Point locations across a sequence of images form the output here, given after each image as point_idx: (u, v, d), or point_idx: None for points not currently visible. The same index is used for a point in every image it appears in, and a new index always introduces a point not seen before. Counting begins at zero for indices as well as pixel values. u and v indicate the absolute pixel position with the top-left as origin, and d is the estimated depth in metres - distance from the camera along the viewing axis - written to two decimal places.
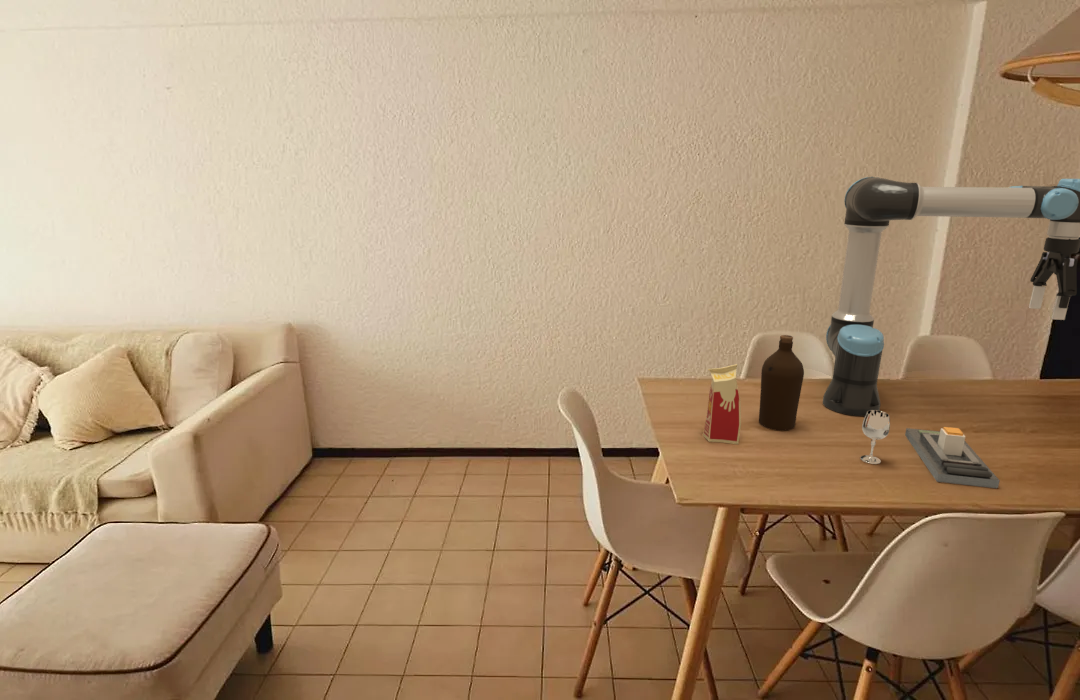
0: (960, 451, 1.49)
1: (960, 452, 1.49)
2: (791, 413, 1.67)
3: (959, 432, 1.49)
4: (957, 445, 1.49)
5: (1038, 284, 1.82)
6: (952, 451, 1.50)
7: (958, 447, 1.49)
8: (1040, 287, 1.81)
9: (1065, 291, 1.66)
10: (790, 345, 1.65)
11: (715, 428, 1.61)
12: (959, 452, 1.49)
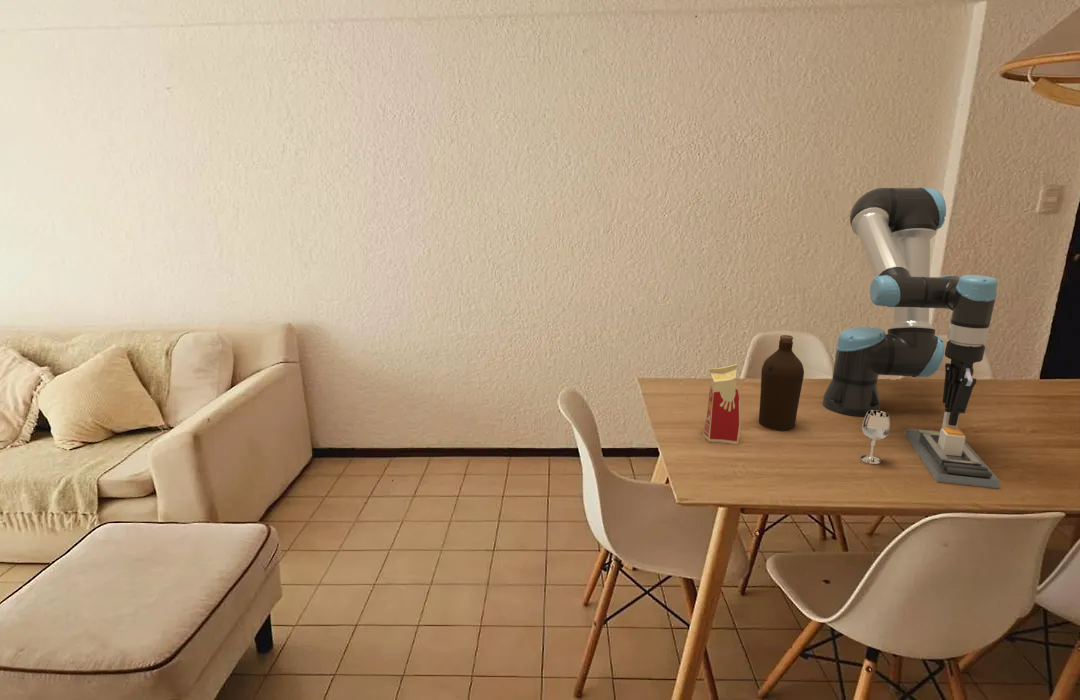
0: (960, 451, 1.49)
1: (960, 452, 1.49)
2: (791, 413, 1.67)
3: (959, 432, 1.49)
4: (957, 445, 1.49)
5: None
6: (953, 452, 1.50)
7: (958, 447, 1.49)
8: None
9: (953, 409, 1.48)
10: (790, 345, 1.65)
11: (715, 428, 1.61)
12: (959, 452, 1.49)
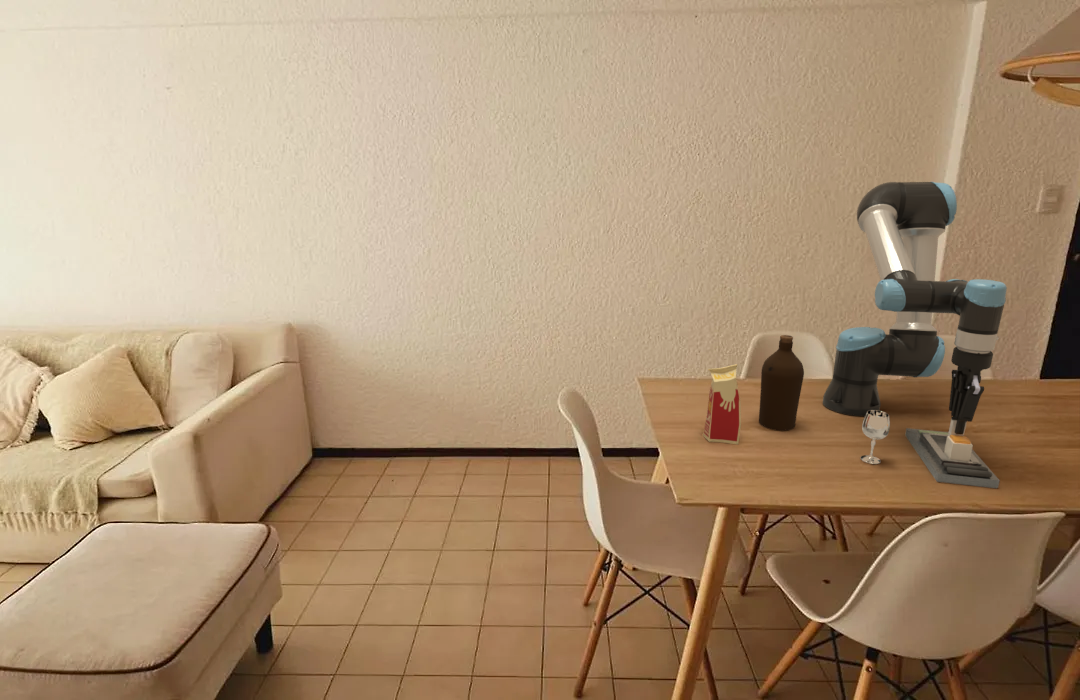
0: (967, 460, 1.45)
1: None
2: (791, 413, 1.67)
3: (966, 441, 1.44)
4: (965, 453, 1.45)
5: None
6: None
7: (965, 456, 1.45)
8: None
9: (960, 418, 1.44)
10: (790, 345, 1.65)
11: (715, 428, 1.61)
12: None
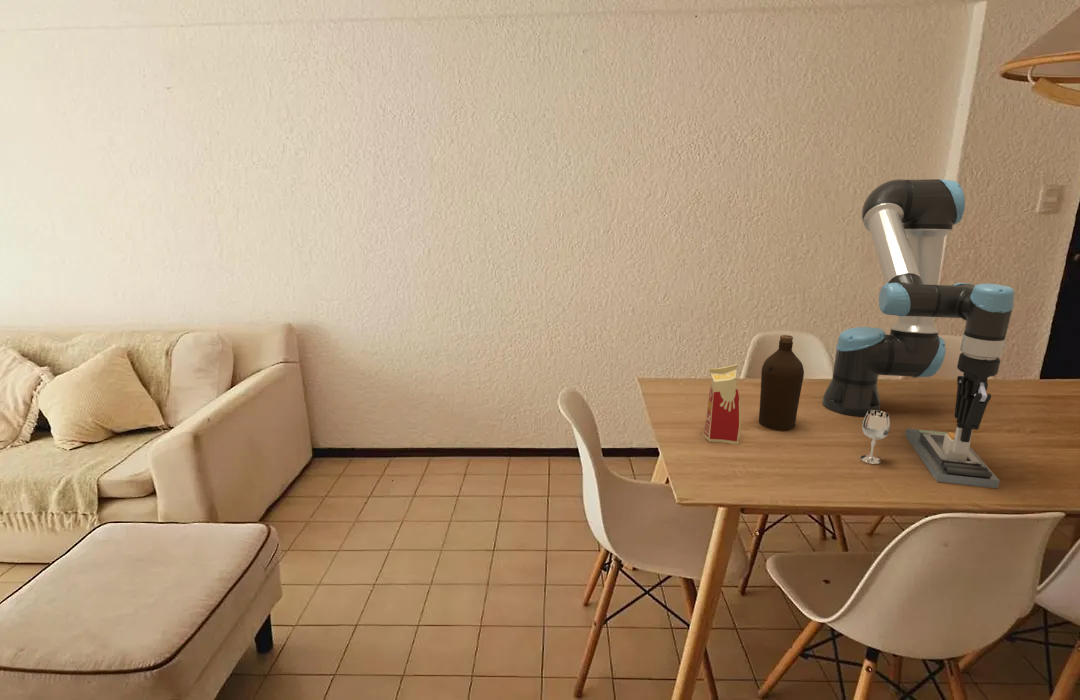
0: (965, 457, 1.46)
1: (965, 458, 1.46)
2: (791, 413, 1.67)
3: None
4: None
5: None
6: (957, 457, 1.47)
7: None
8: None
9: (966, 425, 1.40)
10: (790, 345, 1.65)
11: (715, 428, 1.61)
12: (964, 458, 1.46)
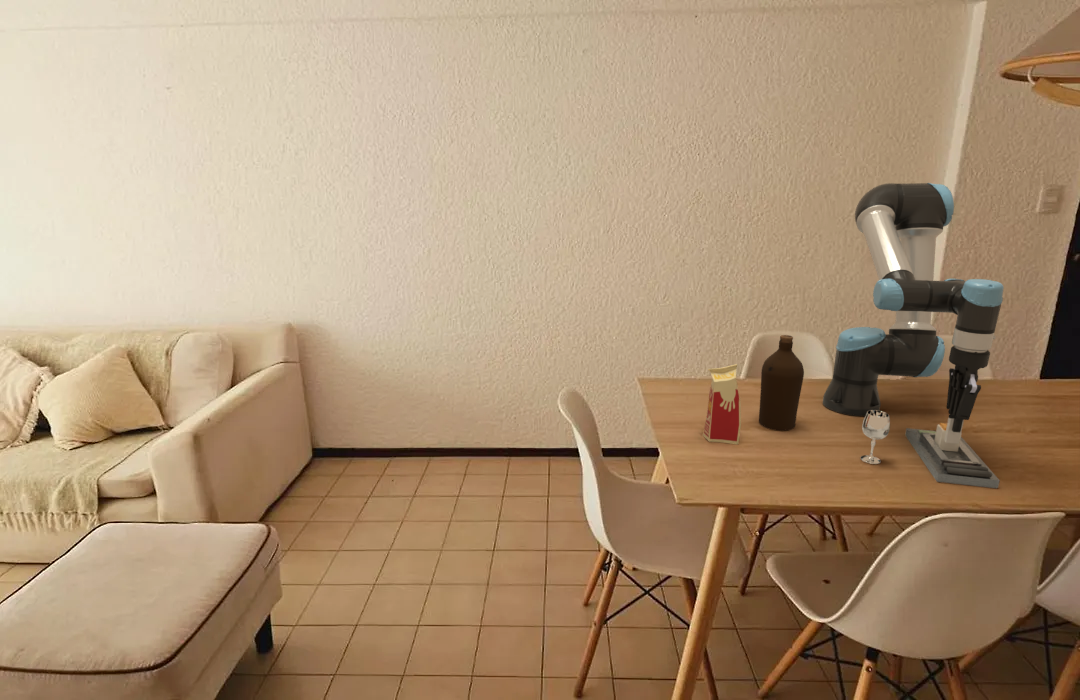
0: (956, 447, 1.51)
1: (956, 448, 1.51)
2: (791, 412, 1.67)
3: None
4: None
5: None
6: (949, 447, 1.52)
7: None
8: None
9: (957, 416, 1.46)
10: (790, 345, 1.65)
11: (715, 428, 1.61)
12: (955, 448, 1.52)
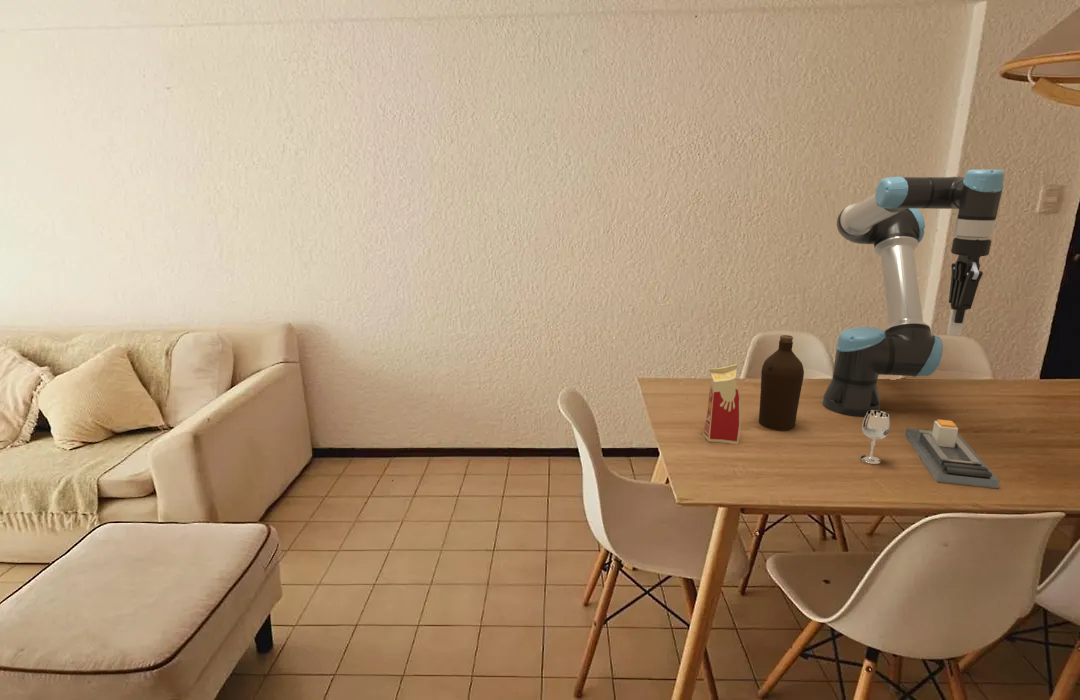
0: (953, 443, 1.54)
1: (953, 444, 1.54)
2: (791, 412, 1.67)
3: (952, 425, 1.53)
4: (950, 437, 1.53)
5: None
6: (946, 443, 1.54)
7: (951, 439, 1.53)
8: None
9: (959, 305, 1.49)
10: (790, 345, 1.65)
11: (715, 428, 1.61)
12: (952, 444, 1.54)
